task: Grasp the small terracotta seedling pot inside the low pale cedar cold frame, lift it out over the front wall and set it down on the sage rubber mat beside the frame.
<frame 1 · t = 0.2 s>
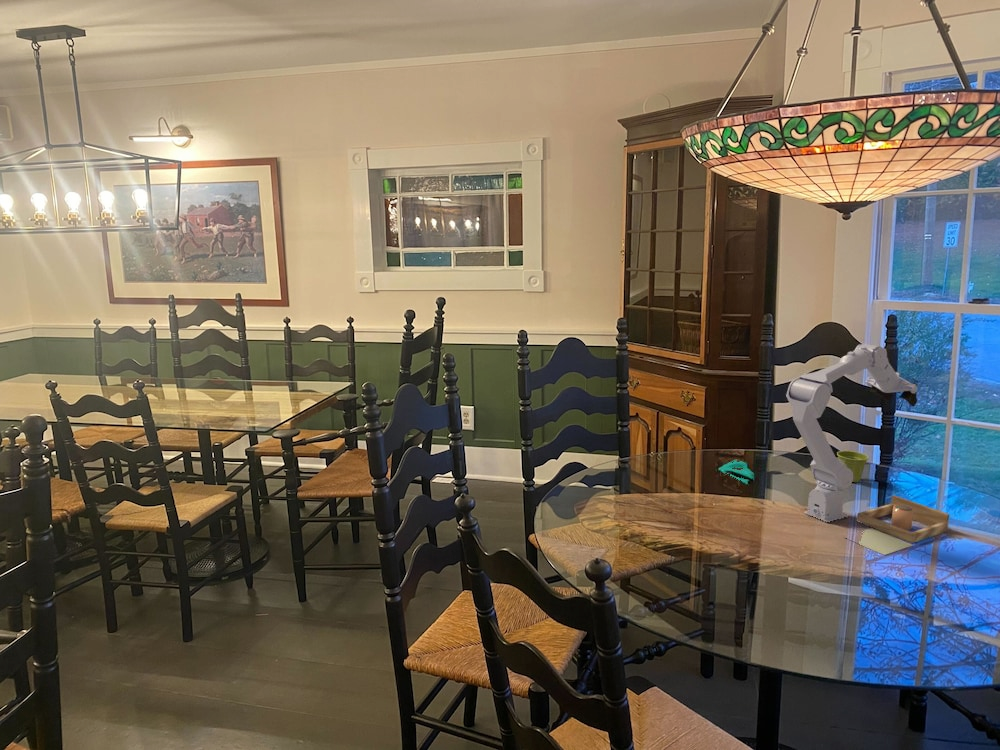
hand: (902, 401, 208), 31 cm above the table, tool tilted 45°, fingers open, 7 cm apart
terracotta pot: (901, 526, 195), resting in cold frame
potting mat: (877, 541, 185), on the table
cold frame: (901, 526, 195), on the table
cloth: (738, 473, 240), on the table
plant pot: (850, 480, 231), on the table
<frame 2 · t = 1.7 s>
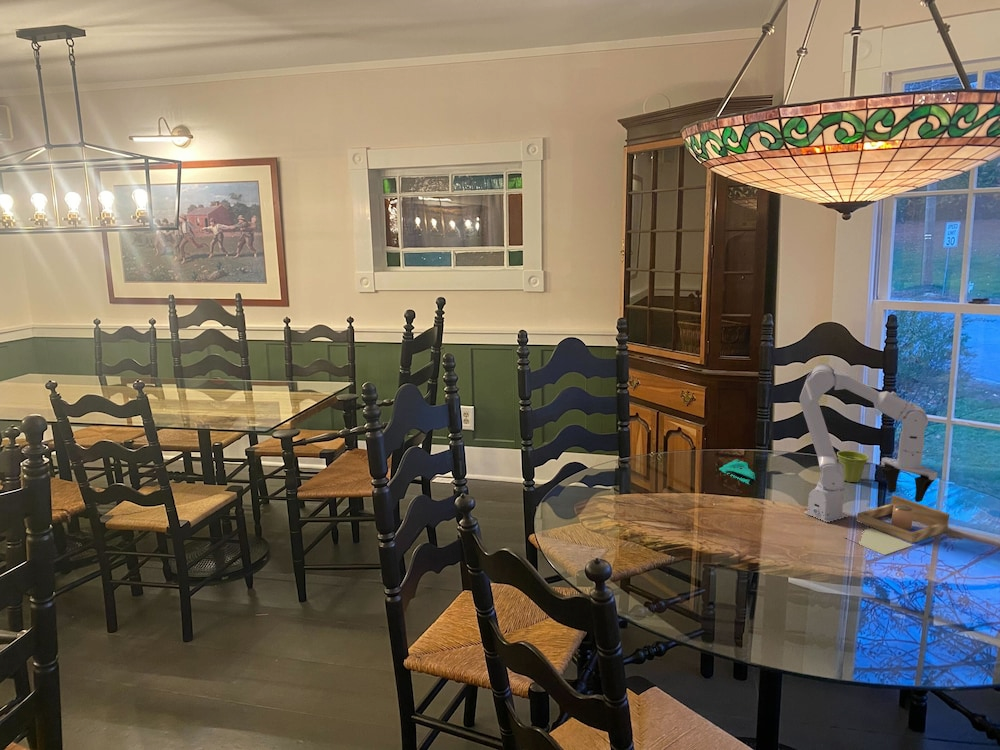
hand: (905, 496, 193), 9 cm above the table, tool pointing down, fingers open, 7 cm apart
nothing on the table moved.
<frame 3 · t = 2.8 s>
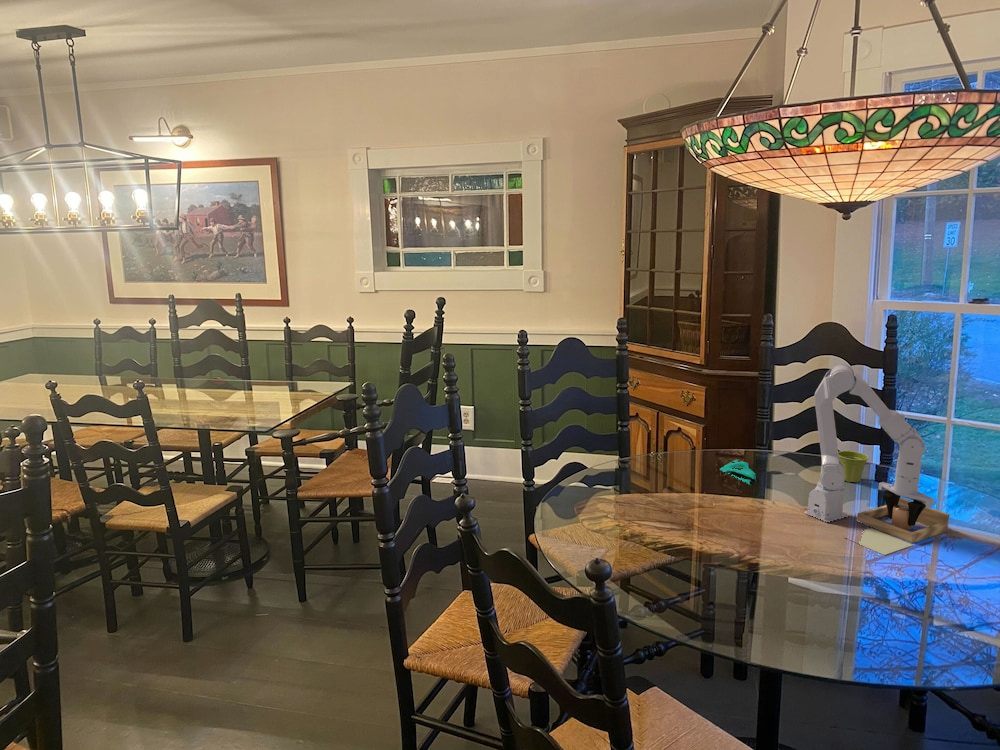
hand: (901, 521, 194), 1 cm above the table, tool pointing down, fingers closed on terracotta pot, 5 cm apart
terracotta pot: (901, 526, 195), resting in cold frame, touching gripper
everything else where it was.
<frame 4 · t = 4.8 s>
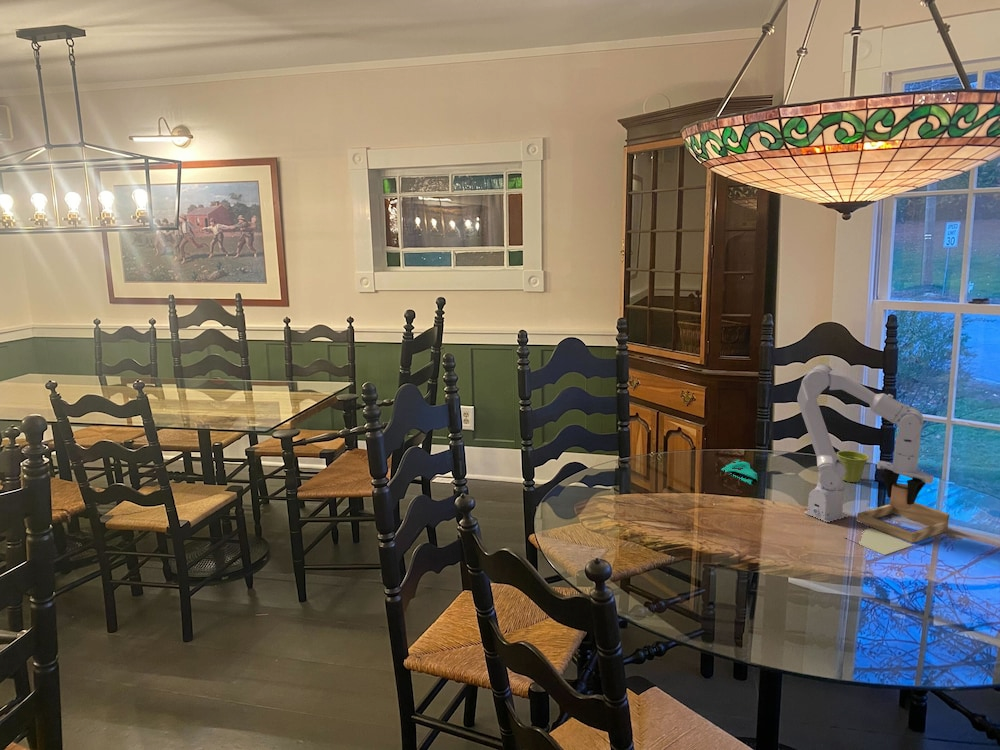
hand: (900, 500, 191), 8 cm above the table, tool pointing down, fingers closed on terracotta pot, 5 cm apart
terracotta pot: (900, 505, 192), point 7 cm above the table, touching gripper
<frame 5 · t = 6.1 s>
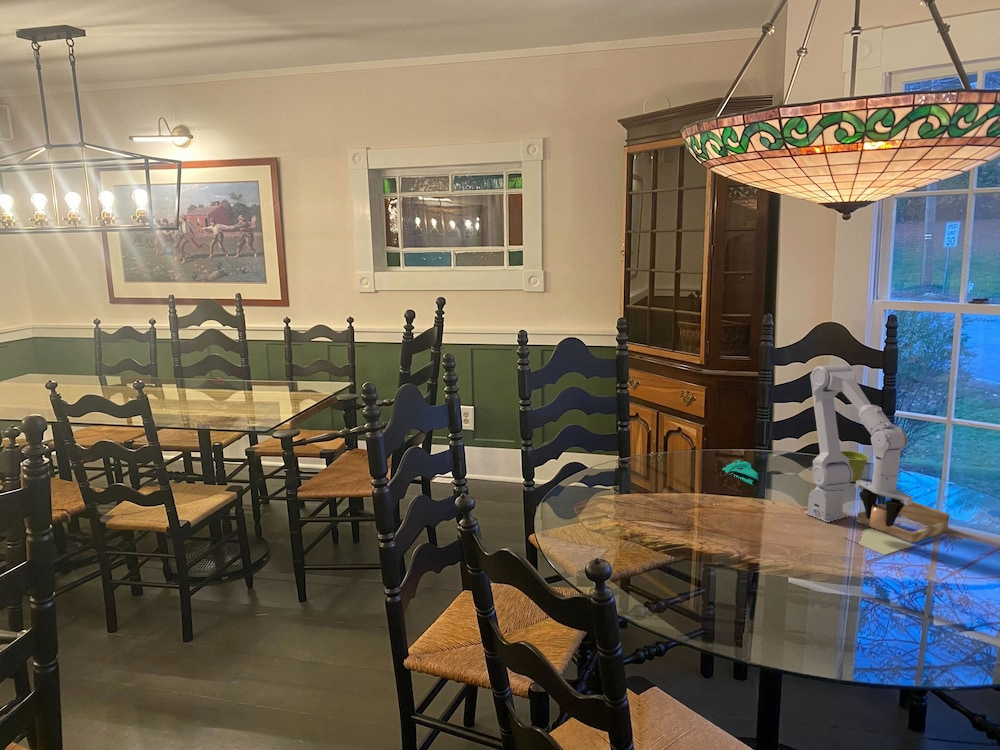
hand: (879, 521, 184), 6 cm above the table, tool pointing down, fingers closed on terracotta pot, 5 cm apart
terracotta pot: (879, 526, 184), point 4 cm above the table, touching gripper
when the fingers open (3 cm above the table, at t = 7.1 s): terracotta pot drops 1 cm, resting on potting mat.
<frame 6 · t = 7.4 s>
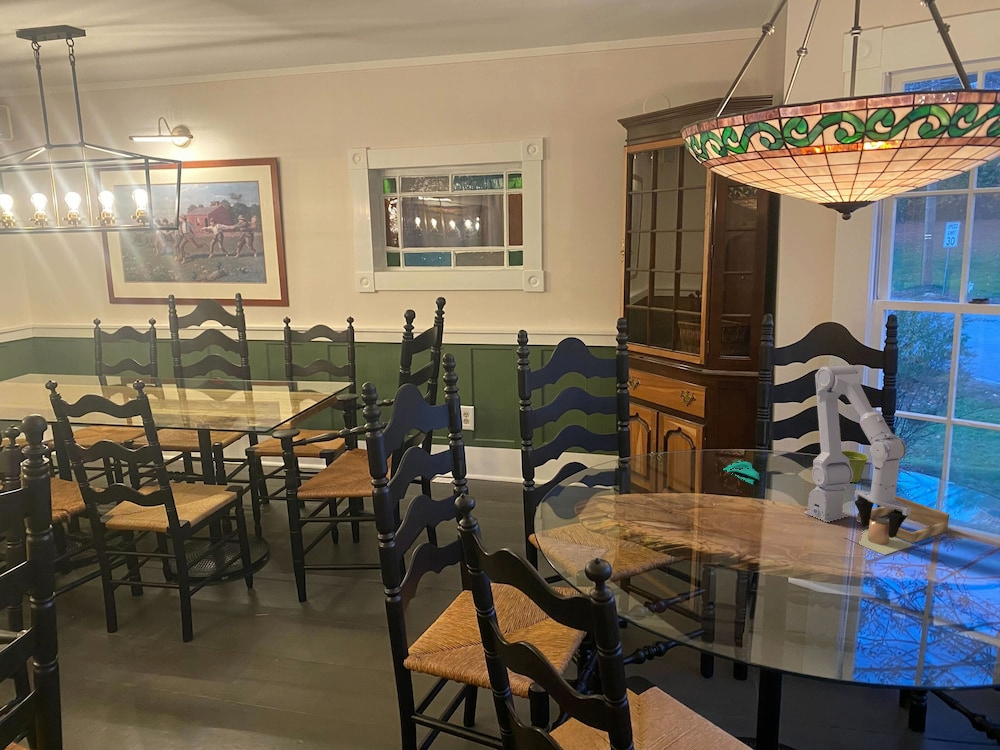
hand: (878, 531, 184), 3 cm above the table, tool pointing down, fingers open, 7 cm apart
terracotta pot: (878, 540, 185), resting on potting mat
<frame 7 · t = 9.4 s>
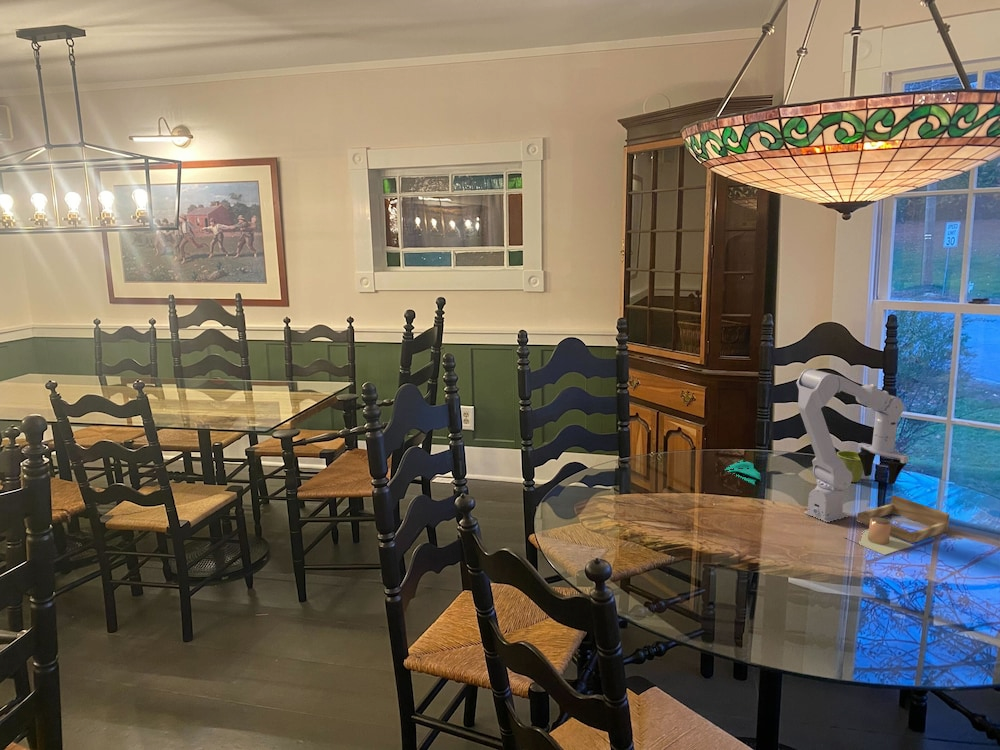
hand: (879, 479, 204), 9 cm above the table, tool pointing down, fingers open, 7 cm apart
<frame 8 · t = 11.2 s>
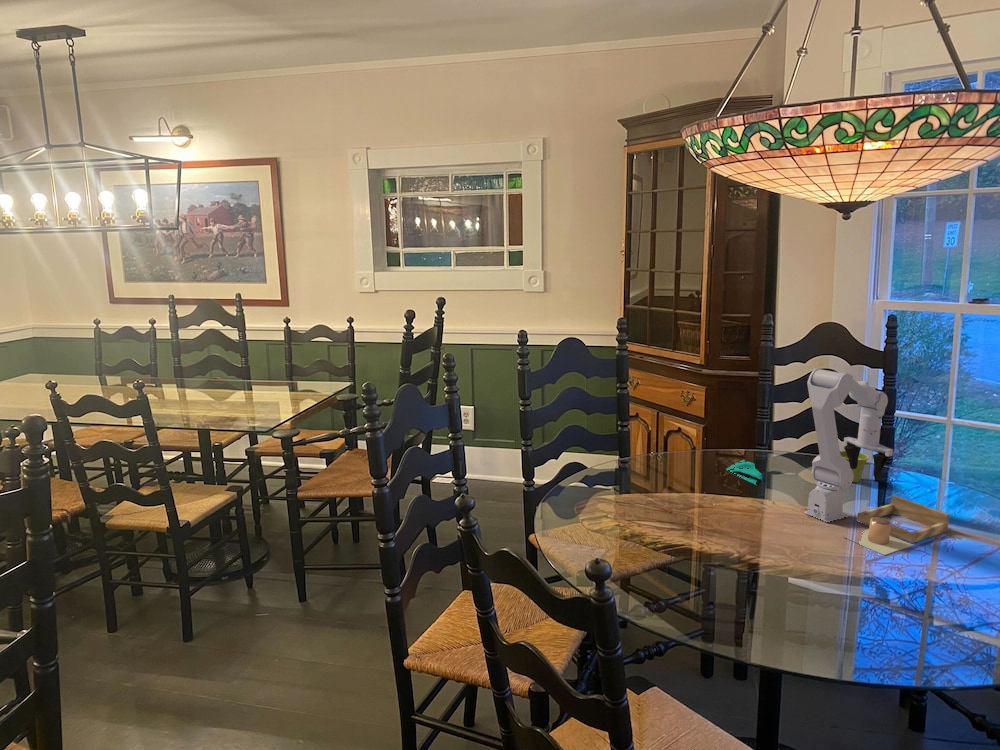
hand: (864, 472, 211), 9 cm above the table, tool pointing down, fingers open, 7 cm apart
at the end: terracotta pot 0.3 cm from the potting mat (horizontally); terracotta pot tilted 2°; the gripper is holding nothing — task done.
